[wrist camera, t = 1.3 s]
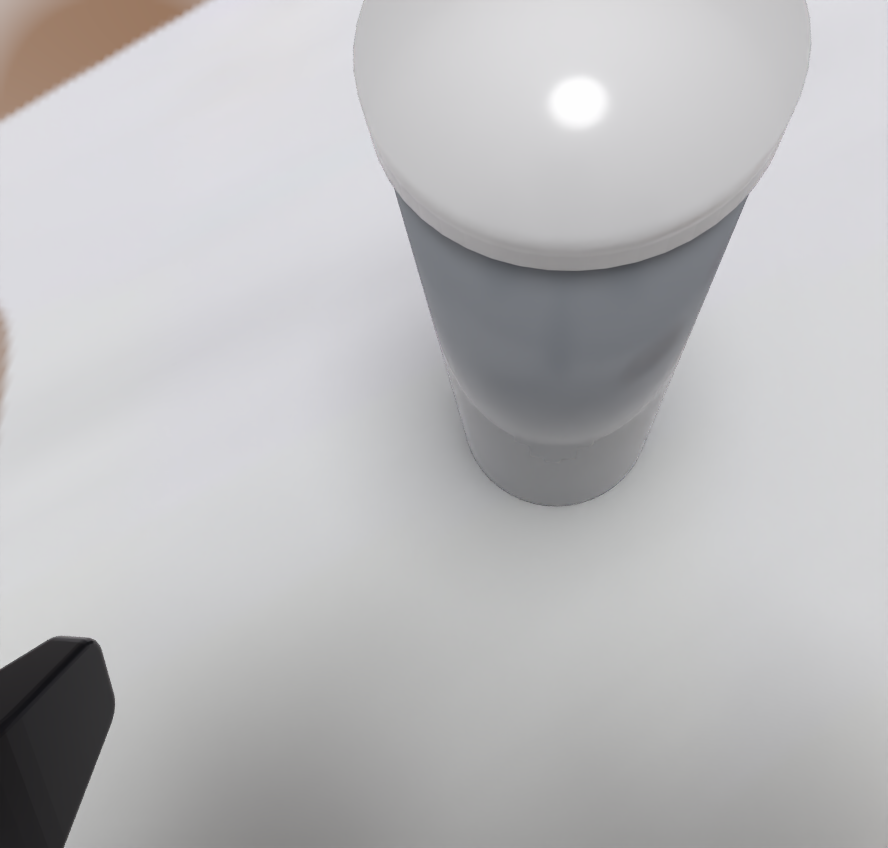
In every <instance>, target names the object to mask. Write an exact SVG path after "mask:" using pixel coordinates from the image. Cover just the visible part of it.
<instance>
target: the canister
mask: <svg viewBox="0 0 888 848" xmlns="http://www.w3.org/2000/svg"><path fill="white" fill-rule="evenodd" d="M810 51H811V28H810V17H809V12H808V8H807V3H806V0H364V1H363V4H362V8H361V11H360V14H359V18H358V21H357V25H356V32H355V39H354V46H353V66H354V77H355V82H356V88H357V94H358V97H359V101H360V104H361V107H362V110H363V114H364V117H365V120H366V124H367V127H368V130H369V133H370V137H371V140H372V143H373V146H374V149H375V151H376V154H377V157H378V160H379V162H380V164H381V166H382V168H383V170H384V172H385V174H386V176H387V177H388V179H389V181H390V183H391V184H392V185H393V187H394V189H395V193H396V196H397V200H398V203H399V207H400V210H401V214H402V217H403V221H404V224H405V227H406V231H407V234H408V238H409V241H410V245H411V248H412V252H413V255H414V258H415V262H416V265H417V269H418V272H419V276H420V279H421V283H422V286H423V289H424V293H425V296H426V300H427V303H428V307H429V310H430V314H431V317H432V321H433V324H434V327H435V331H436V334H437V338H438V341H439V345H440V348H441V352H442V355H443V358H444V362H445V365H446V369H447V372H448V376H449V379H450V383H451V386H452V389H453V393H454V396H455V400H456V403H457V407H458V410H459V414H460V417H461V421H462V424H463V427H464V431H465V434H466V438H467V441H468V444H469V447H470V450H471V452H472V454H473V456H474V458H475V460H476V462H477V464H478V465H479V467H480V468H481V469H482V471H483V472H484V473H485V474H486V475H487V476H488V478H489V479H490V480H491V481H492V482H494V483H495V484H496V485H497V486H498V487H500V488H501V489H503V490H504V491H506V492H507V493H509V494H511V495H513V496H515V497H517V498H519V499H521V500H524V501H527V502H530V503H534V504H540V505H546V506H566V505H573V504H578V503H582V502H585V501H588V500H591V499H594V498H596V497H598V496H600V495H602V494H604V493H605V492H607V491H608V490H610V489H611V488H613V487H614V486H615V485H616V484H618V483H619V482H620V481H621V480H622V479H623V478H624V477H625V476H626V475H627V473H628V472H629V471H630V470H631V468H632V467H633V465H634V464H635V462H636V461H637V459H638V457H639V455H640V452H641V450H642V448H643V446H644V443H645V441H646V438H647V436H648V434H649V431H650V429H651V426H652V424H653V422H654V419H655V417H656V414H657V412H658V410H659V407H660V405H661V403H662V400H663V398H664V395H665V393H666V391H667V388H668V386H669V383H670V381H671V379H672V376H673V374H674V371H675V369H676V367H677V364H678V362H679V360H680V357H681V355H682V352H683V350H684V348H685V345H686V343H687V340H688V338H689V336H690V333H691V331H692V328H693V326H694V324H695V321H696V319H697V317H698V314H699V312H700V309H701V307H702V305H703V302H704V300H705V297H706V295H707V293H708V290H709V288H710V285H711V283H712V281H713V278H714V276H715V274H716V271H717V269H718V266H719V264H720V262H721V259H722V257H723V254H724V252H725V250H726V247H727V245H728V242H729V240H730V238H731V235H732V233H733V231H734V228H735V226H736V223H737V221H738V219H739V216H740V214H741V211H742V209H743V207H744V204H745V202H746V199H747V197H748V195H749V193H750V192H751V190H752V189H753V188H754V187H755V186H756V184H757V183H758V181H759V180H760V178H761V177H762V175H763V174H764V172H765V171H766V169H767V168H768V166H769V165H770V163H771V161H772V159H773V157H774V154H775V152H776V150H777V148H778V146H779V144H780V142H781V139H782V137H783V135H784V133H785V130H786V128H787V126H788V123H789V121H790V119H791V116H792V114H793V112H794V110H795V107H796V105H797V103H798V100H799V98H800V96H801V93H802V90H803V86H804V83H805V79H806V76H807V72H808V68H809V59H810Z"/></svg>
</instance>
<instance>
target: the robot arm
mask: <svg viewBox="0 0 888 848" xmlns="http://www.w3.org/2000/svg"><path fill="white" fill-rule="evenodd" d="M114 710H115V698H114V692H113V689H112V685H111V682H110V678H109V675H108V671H107V667H106V664H105V660H104V657H103V653H102V650H101V647H100V645H99V644H98V643H97V642H96V641H95V640H94V639H91V638H85V637H71V636H56V637H53V638H51V639H49V640H47V641H45V642H44V643H42V644H41V645H39V646H37V647H36V648H34V649H32V650H31V651H29V652H27V653H26V654H24V655H23V656H21V657H19V658H18V659H16V660H14V661H13V662H11V663H10V664H8V665H6V666H5V667H3V668H1V669H0V848H64V845H65V843H66V840H67V838H68V835H69V833H70V830H71V827H72V825H73V822H74V819H75V817H76V814H77V812H78V809H79V806H80V804H81V801H82V799H83V796H84V793H85V791H86V788H87V786H88V783H89V780H90V778H91V775H92V772H93V770H94V767H95V765H96V762H97V759H98V757H99V754H100V752H101V749H102V746H103V744H104V741H105V739H106V736H107V733H108V731H109V728H110V725H111V723H112V720H113V715H114Z"/></svg>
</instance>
